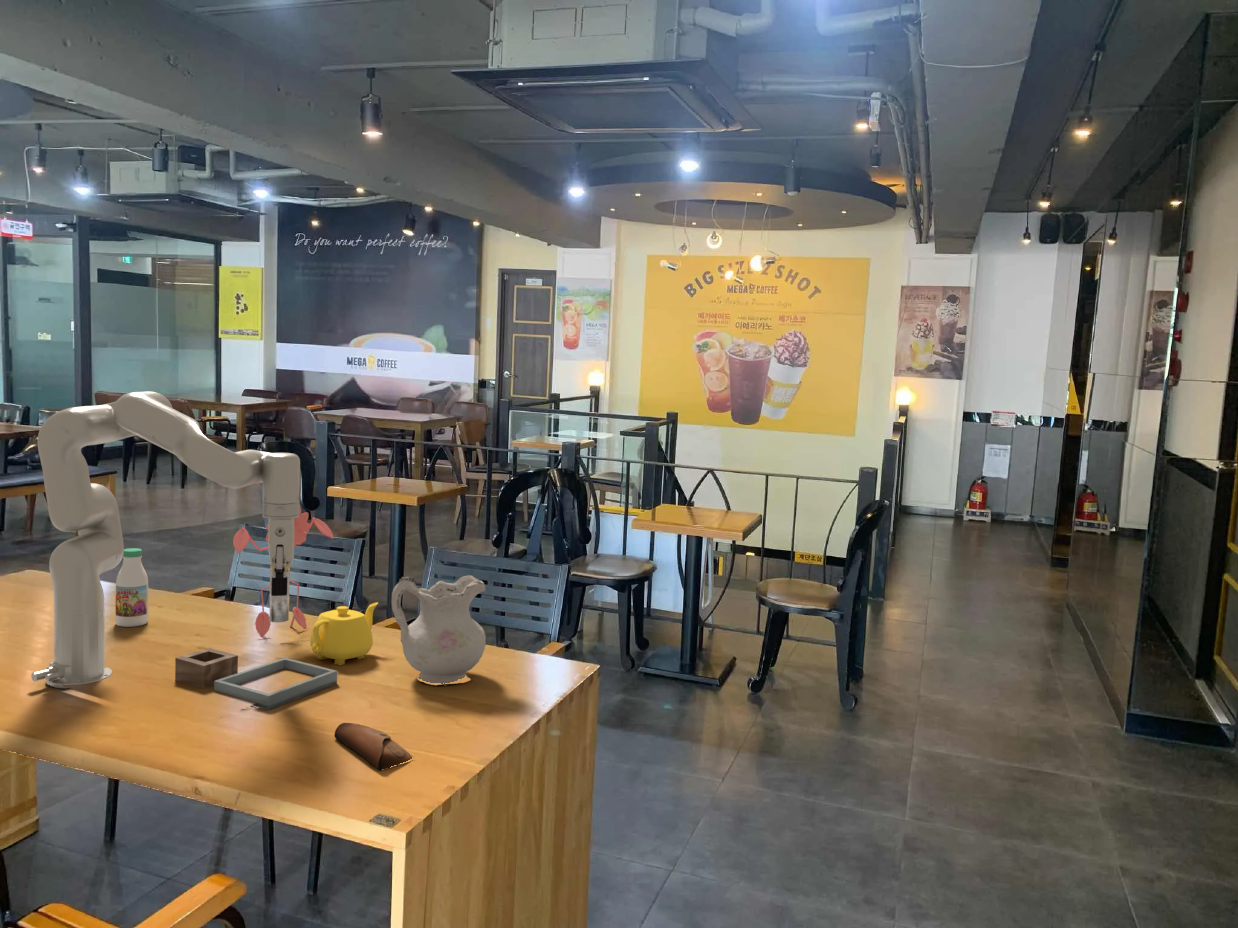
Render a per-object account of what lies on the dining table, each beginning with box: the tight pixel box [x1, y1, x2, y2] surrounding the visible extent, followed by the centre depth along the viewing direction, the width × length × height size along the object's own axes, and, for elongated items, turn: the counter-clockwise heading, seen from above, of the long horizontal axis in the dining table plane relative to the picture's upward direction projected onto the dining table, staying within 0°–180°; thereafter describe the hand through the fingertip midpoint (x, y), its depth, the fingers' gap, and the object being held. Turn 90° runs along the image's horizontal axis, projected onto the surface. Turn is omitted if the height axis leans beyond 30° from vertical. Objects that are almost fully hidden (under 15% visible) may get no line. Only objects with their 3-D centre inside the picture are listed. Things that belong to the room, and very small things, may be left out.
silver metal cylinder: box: [268, 560, 291, 623], centre depth 205 cm, size 4×4×13 cm
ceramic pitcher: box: [391, 575, 487, 684], centre depth 219 cm, size 22×20×25 cm
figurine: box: [232, 504, 335, 645], centre depth 244 cm, size 15×26×35 cm, turn 135°
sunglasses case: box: [333, 722, 413, 771], centre depth 178 cm, size 18×7×7 cm
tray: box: [213, 657, 338, 711], centre depth 207 cm, size 20×16×3 cm
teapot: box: [309, 601, 379, 665], centre depth 232 cm, size 14×20×13 cm
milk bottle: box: [115, 547, 149, 628], centre depth 248 cm, size 8×8×20 cm
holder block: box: [174, 647, 239, 689], centre depth 208 cm, size 9×9×6 cm
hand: (279, 591), depth 205 cm, fingers closed on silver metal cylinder, 4 cm apart
